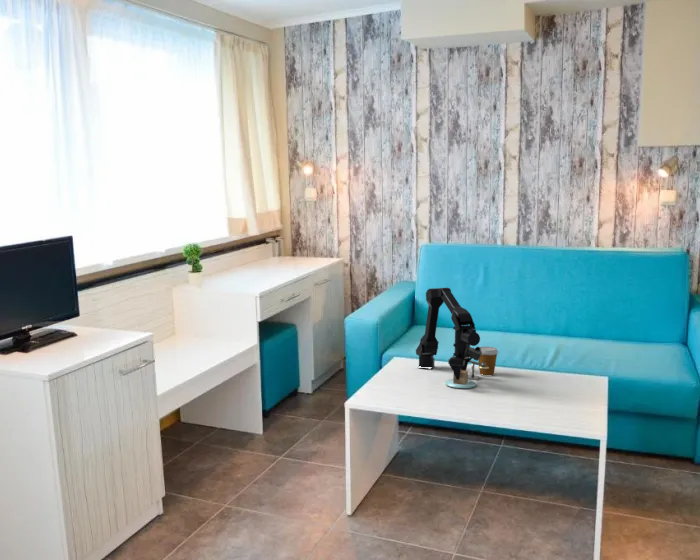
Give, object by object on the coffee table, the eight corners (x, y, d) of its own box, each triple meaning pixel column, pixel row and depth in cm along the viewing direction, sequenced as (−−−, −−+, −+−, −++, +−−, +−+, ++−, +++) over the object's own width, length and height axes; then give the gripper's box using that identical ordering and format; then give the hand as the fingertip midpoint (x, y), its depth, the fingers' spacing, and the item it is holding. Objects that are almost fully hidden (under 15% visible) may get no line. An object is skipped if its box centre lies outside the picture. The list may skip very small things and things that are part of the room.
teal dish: (441, 387, 284) (441, 384, 284) (450, 379, 296) (450, 377, 296) (471, 390, 279) (471, 388, 279) (479, 383, 291) (479, 380, 291)
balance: (455, 378, 299) (456, 358, 298) (458, 375, 304) (459, 356, 303) (487, 381, 293) (487, 361, 292) (489, 378, 298) (490, 359, 297)
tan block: (453, 383, 286) (453, 372, 286) (456, 380, 291) (456, 369, 290) (464, 384, 284) (464, 373, 284) (467, 382, 289) (468, 370, 288)
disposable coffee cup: (499, 377, 301) (500, 350, 300) (478, 376, 301) (478, 350, 300) (495, 371, 311) (495, 346, 309) (474, 371, 311) (475, 346, 309)
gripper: (474, 347, 274) (473, 384, 275) (485, 338, 290) (484, 374, 292) (448, 344, 278) (447, 381, 280) (460, 336, 295) (459, 371, 297)
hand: (460, 377), depth 287 cm, fingers open, 9 cm apart
